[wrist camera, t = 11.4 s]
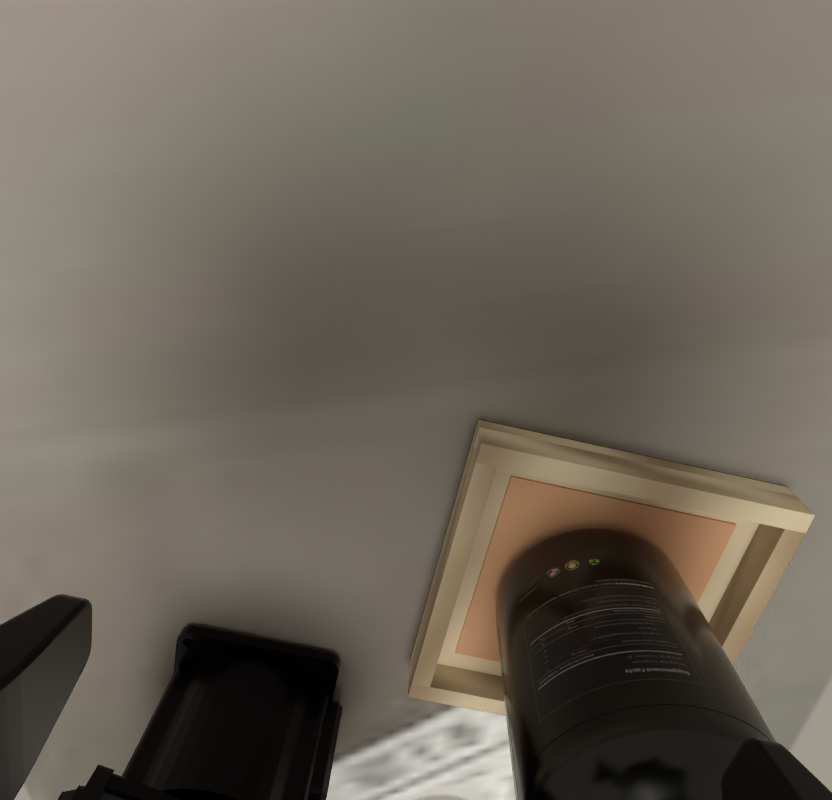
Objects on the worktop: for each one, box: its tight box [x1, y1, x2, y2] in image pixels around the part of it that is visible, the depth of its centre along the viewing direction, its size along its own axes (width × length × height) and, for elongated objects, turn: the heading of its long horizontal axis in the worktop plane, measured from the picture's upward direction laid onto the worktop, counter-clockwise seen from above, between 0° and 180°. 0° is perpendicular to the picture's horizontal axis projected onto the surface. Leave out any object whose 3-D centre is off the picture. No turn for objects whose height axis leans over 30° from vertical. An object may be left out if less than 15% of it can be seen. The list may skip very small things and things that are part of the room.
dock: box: [408, 420, 815, 716], centre depth 23 cm, size 11×11×2 cm
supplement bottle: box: [495, 528, 776, 800], centre depth 17 cm, size 7×7×12 cm
